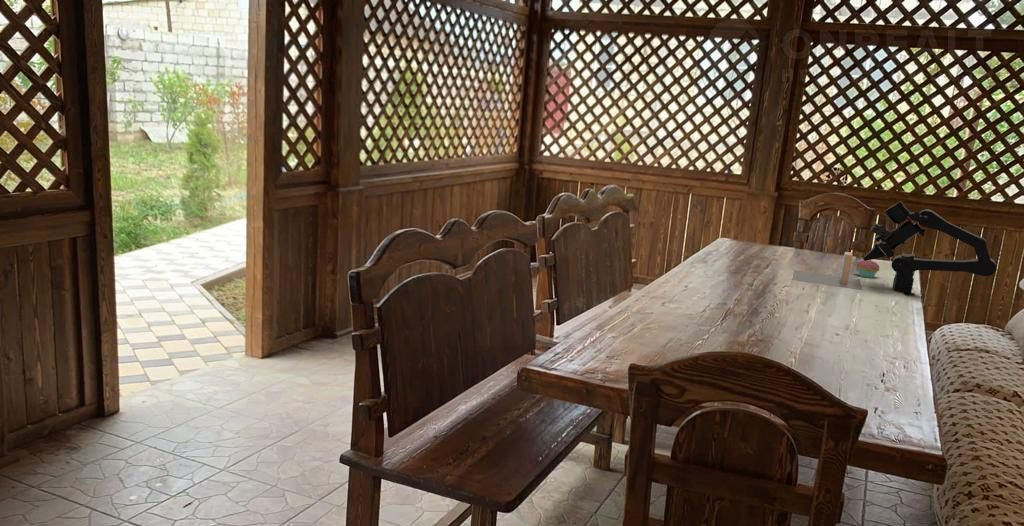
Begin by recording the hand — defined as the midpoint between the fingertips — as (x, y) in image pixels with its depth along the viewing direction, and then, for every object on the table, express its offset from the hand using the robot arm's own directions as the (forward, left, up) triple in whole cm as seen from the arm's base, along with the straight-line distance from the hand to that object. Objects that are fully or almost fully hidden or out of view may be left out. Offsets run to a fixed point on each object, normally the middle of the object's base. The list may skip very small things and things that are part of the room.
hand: (863, 259), depth 274 cm
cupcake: (+15, -12, -10) cm, 22 cm away
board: (+6, +10, -10) cm, 15 cm away
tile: (+3, +5, -9) cm, 11 cm away
